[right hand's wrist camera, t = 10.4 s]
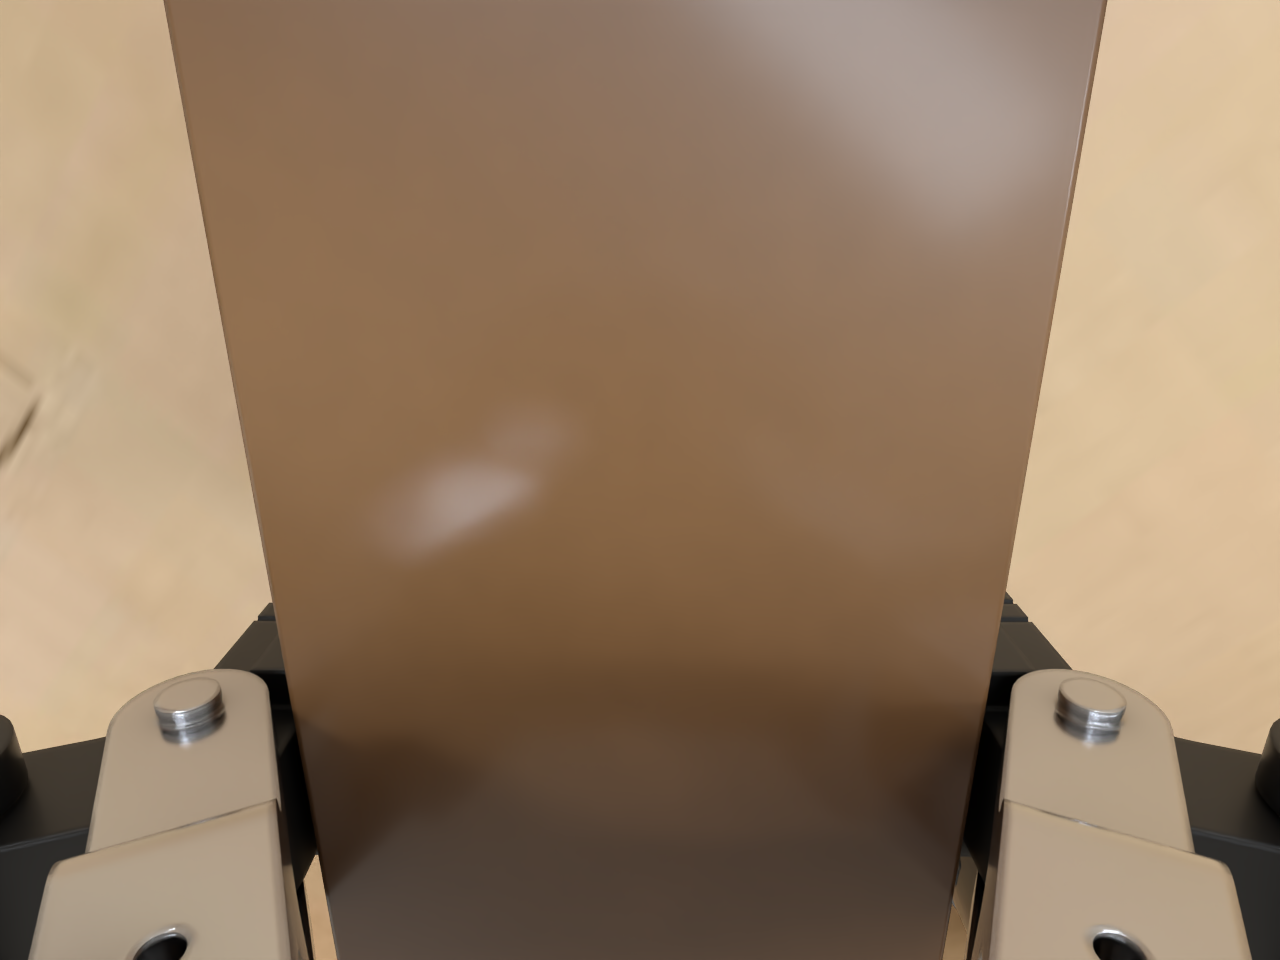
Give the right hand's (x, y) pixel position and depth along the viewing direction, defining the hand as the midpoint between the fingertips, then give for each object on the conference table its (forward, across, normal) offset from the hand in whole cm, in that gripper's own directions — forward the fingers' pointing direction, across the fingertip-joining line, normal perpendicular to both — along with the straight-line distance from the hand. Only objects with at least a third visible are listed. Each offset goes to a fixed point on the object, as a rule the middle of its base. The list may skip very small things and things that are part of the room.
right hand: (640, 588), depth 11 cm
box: (+7, 0, -7) cm, 10 cm away
